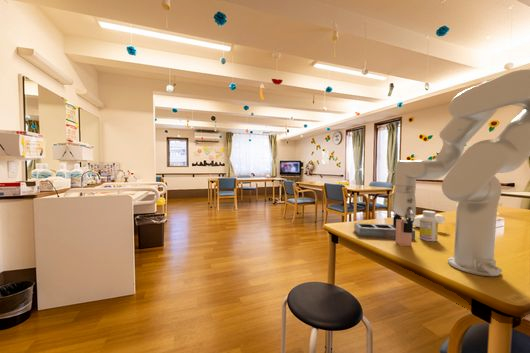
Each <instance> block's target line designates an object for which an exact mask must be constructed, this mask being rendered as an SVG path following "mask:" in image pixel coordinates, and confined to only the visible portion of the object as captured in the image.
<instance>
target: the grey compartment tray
mask: <svg viewBox="0 0 530 353" xmlns="http://www.w3.org/2000/svg"><path fill="white" fill-rule="evenodd" d="M353 225H354V228H353V230H354V232H355V233H356V234H357V235H358V237H359V236H360V237H361V238H362V237H363V238H377V239H379V238H380V239H381V238H382V239H396V226H394V225H393V223H392V224H391V223H390V224H387V223H368V222H367V223H363V222H354V224H353ZM415 239H416V230H415V229H414V228H413V229H412V240H415Z"/></svg>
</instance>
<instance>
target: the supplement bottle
mask: <svg viewBox="0 0 530 353" xmlns="http://www.w3.org/2000/svg"><path fill="white" fill-rule="evenodd" d="M422 215H423V216H422V217H420V227H419V238H420V239H421V240H422V241H427V242H437V241H438V237H439V236H438V234H439V232H438V231H439V229H438V228H439V224H438V219H437V218H436V217H435V215H437V214H436V211H433V210H422Z"/></svg>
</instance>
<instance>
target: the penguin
mask: <svg viewBox="0 0 530 353" xmlns="http://www.w3.org/2000/svg"><path fill="white" fill-rule="evenodd" d="M422 216H423V214H421V215H417V216H415V218H414V221H413V222H414V223H413V227H415V228H420V217H422ZM435 217H436V218H437V219H438V225H442V224H443V223H445V221H446V218H445V216H444V215H442V214H440V213H439V214H438V213H437V214H436V215H435Z"/></svg>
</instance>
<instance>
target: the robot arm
mask: <svg viewBox="0 0 530 353" xmlns="http://www.w3.org/2000/svg"><path fill="white" fill-rule="evenodd" d="M507 106H508V107H509V106H515V107H521V108H522V111H521V112H520V113H519V114H518V115H517V116H516V117H514V118H513V119H512V120H511V121H509V123H508V124H507V125H506V126H505V128H504V129H503V130H502V131H501V132H500V134H499V135H498V136H496V137H495V139H484V140H480V141H478V142H475V143H473V144H472V145H470V146H469V147H468V148H467V149H465V146H466V145H467V144H468V142H469V141H470V140H471V139H472V138H473V137H474V136H475V135H476V134H477V133H478V132H479V131H480V130H481V129H482V128H483V126H484V125H486V124H487V122H488V121H489V120H490V119H491V118H492V117H493V116H494V115H495V114H496V112H497V111H498V110H499V109H500V108H503V107H507ZM447 109H448V113H449V115H450V116H452V117H451V118H450V119H449V121H448V122H447V123H446V125H445V126H444V127H443V128H442V129H441V130H440V131H439V138H440V139H441V141H442V148H441V149H440V151H439V152H438V154H437V155H436V156H435V157H434V158H433V159H424V160H423V159H415V160H404V159H403V160H398V161H397V162H396V165H395V176H394V177H395V179H394V200H393V206H392V207H393V220H392V225H394V226H396V219H402V218H403V219H402V220H404V221H405V223H404V227H403V232H404V233H412V229H413V230H414V225H413V223H414V222H413V221H414V219H415V217H416V214H417V213H416V212H417V209H416V208H417V207H416V206H417V204H416V203H417V201H416V187H417V186H416V185H417V180H436V179H437V180H438V179H440V178H443V177H444V178H443V180H442V181H441V182H442V183H441V191H442V194H443V195H444V196H445V197H446V198H447V199H449V200H450V201H453V202H457V203H458V204H457V206H456V211H455V225H454V226H455V230H454V247H453V248H454V252H453V256H450V257H448V258H447V263H448V264H449V265H450V266H451V267H453V268H455V269H457V270H460V271H463V272H465V273H469V274H472V275H478V276H485V277H498V276H500V275H501V273H502V272H503V270H502V268H500V267H498V266H497V260H495V249H496V248H495V247H496V246H495V245H496V244H495V243H496V229H497V214H498V207H499V203H500V198H501V195H502V184H501V182H500V180H499V179H498V177H496V175H497V174H504V173H510V172H511V173H512V172H513V171H516V170H517V169H519V168H521V166H522V165H523V164H524V163H525V162H526V161H527V160H528V159H529V158H530V69H518V70H513V71H509V72H508V73H507V72H506V73H504V74H502V75H499V76H498V77H497V76H496V77H495V78H493V79H490V80H487V81H485V82H482V83H479V84H477V85H475V86H472V87H470V88H467V89H465V90H463V91H461V92H459V93H457V94H456V95H455V96H454V97H453V98H452V99H451V101H450V102H449V105H448V108H447ZM464 150H465V151H464Z"/></svg>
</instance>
